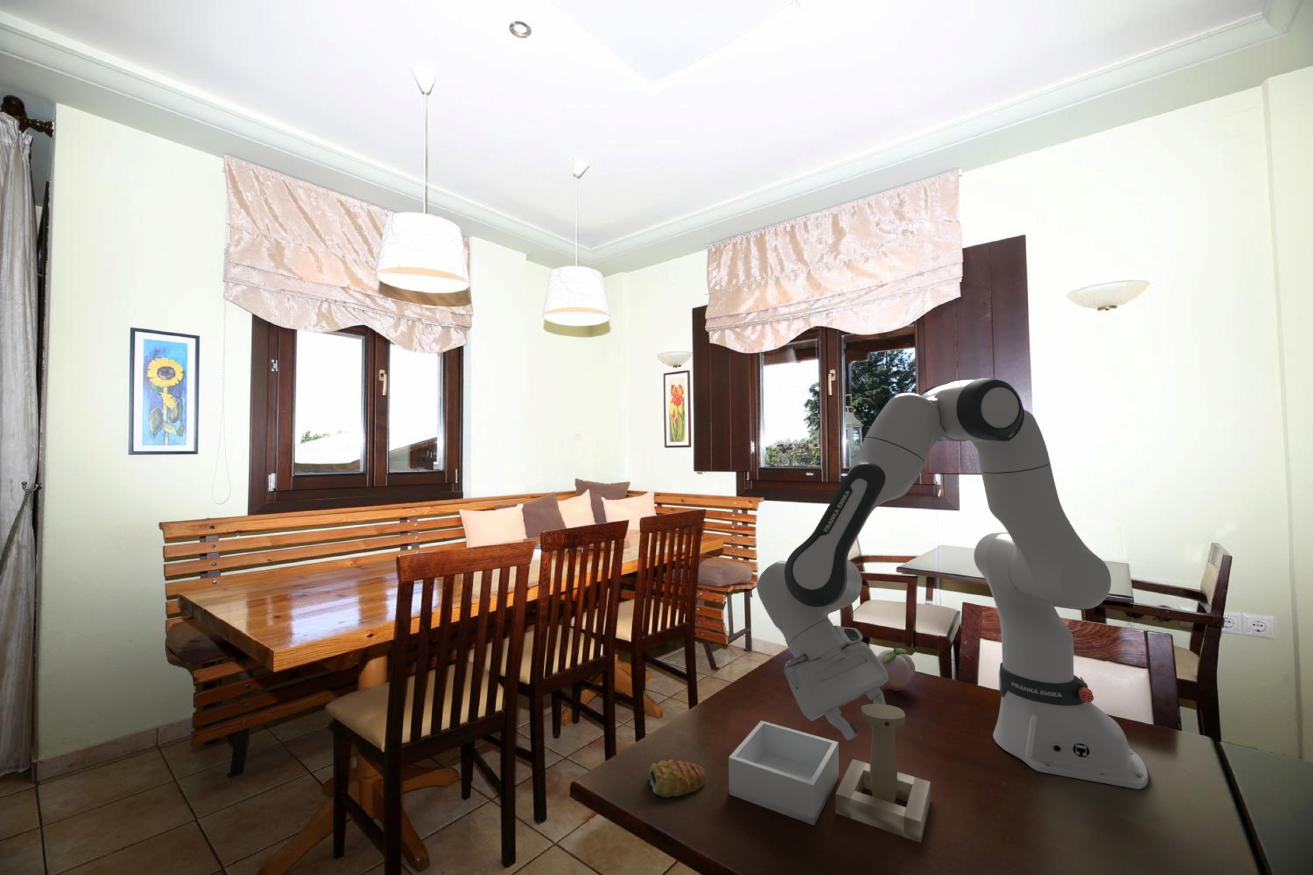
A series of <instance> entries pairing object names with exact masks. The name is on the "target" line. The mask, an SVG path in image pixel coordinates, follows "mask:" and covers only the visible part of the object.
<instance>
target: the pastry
mask: <svg viewBox="0 0 1313 875" xmlns="http://www.w3.org/2000/svg"><path fill="white" fill-rule="evenodd" d="M648 774H649V778H650V786H652V790H653V794H655V795H657V796H660V797H662V798H670V797H672V796H673V797H680V796H683V795H688V794H690V793H693V792H696V791H698V790H700V789H701V788H702V787H704V786H705V783H706V782H707V781H706V778H707V777H706V773H705V769H704V768H703V767H702V766H700V765H698V764H696V763H691V762H690V761H689V762H688V761H683V760H678V761H677V760H674V759H673V758H670V759H669V760H668V761H667V760H664V759H661V760H659V762H658V763H652V764H651V766H650V768H649V772H648Z"/></svg>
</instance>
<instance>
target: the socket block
mask: <svg viewBox="0 0 1313 875" xmlns="http://www.w3.org/2000/svg"><path fill="white" fill-rule="evenodd" d="M864 789H866V790H870V791H872V790H871V781H870V763H867V762H865V761H861V760H858V759H854V758H853V759H852V760H851V762H850V763H849V766H848V768H847V770H846V771H845V774H844V776H843V778H842V779H841V782H840V783H839V786H838V788H837V790H836V792H835V814H837V815H840V816H843V817H845V818H849V819H852V820H854V821H858V822H860V823H863V824H866V825H868V826H871V827H874V828H877V829H880V830H883V831H885V832H886V831H887V832H888V833H891V834H895V835H897V836H901V837H903V838H906V839H909V840H911V841H914V842H917V843H920V844H921V843H922V840H923V835H924V831H925V828H926V823H927V822H926V821H927V818H928V813H929V808H930V804H931V798H932V797H931V781H930V780H927V779H922V778H919V777H916V776H912V775H909V774H905V773H903V772H898V771H897V792H896V798H895V799H899V800H900V801H904V802H907V804H906V806H904V805H903V806H902V805H899V804H897V803H896V804H894V803H891V802H887V801H884V800H881V799H878V798H875V797H872V795H868V794H865V793H862V792H863V790H864Z"/></svg>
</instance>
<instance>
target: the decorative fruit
mask: <svg viewBox="0 0 1313 875" xmlns="http://www.w3.org/2000/svg"><path fill="white" fill-rule="evenodd" d="M876 656H877V658H878V659H879V660H880V662H881V663H882V665H883V666H884V668H885V670H886V671H887V674H888V681H887V682H886V683H885V684H883V685H884V686H886V687H887V688H888V689H890V690H892V691H894V692H897V691H901V690H903V689H904V688H906V687H907V686H908V685H909V684H910V683H911V682H912V681H913V678H914V675H915V672H916V666H915V663H914V660H913V659H912V658H911V656H910V655H908V651H907V650H906V649H904V648H900V647H898V648H897V647H896V646H893V649H888V650H887V649H885V650H883V651H882V652H880V653H879V654H877V655H876Z"/></svg>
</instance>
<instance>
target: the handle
mask: <svg viewBox="0 0 1313 875" xmlns="http://www.w3.org/2000/svg"><path fill="white" fill-rule="evenodd" d="M860 710H861V711H860V714H861V718H862V719H863V721H864V722H865V723H867V724H868V725H870V727H871V741H870V742H871V743H870V757H869V758H870V761H869V764H870V781H871V790H870V791H871V793H872V794H871V796H872V797H875V798H878V799H881V800H884V801H887V802H891V803H894V804H897V802H896V799H897V798H896V792H897V772H898V767H897V764H898V763H897V752H896V736H895V734H896V729H897V728H899V727H902V726H904V725H905V723H906V714H905V711H904V710H903V709H901V708H900V707H897V706H894V705H890V704H886V703H885V704H874V703H868V704H864V705H861V707H860Z"/></svg>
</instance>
